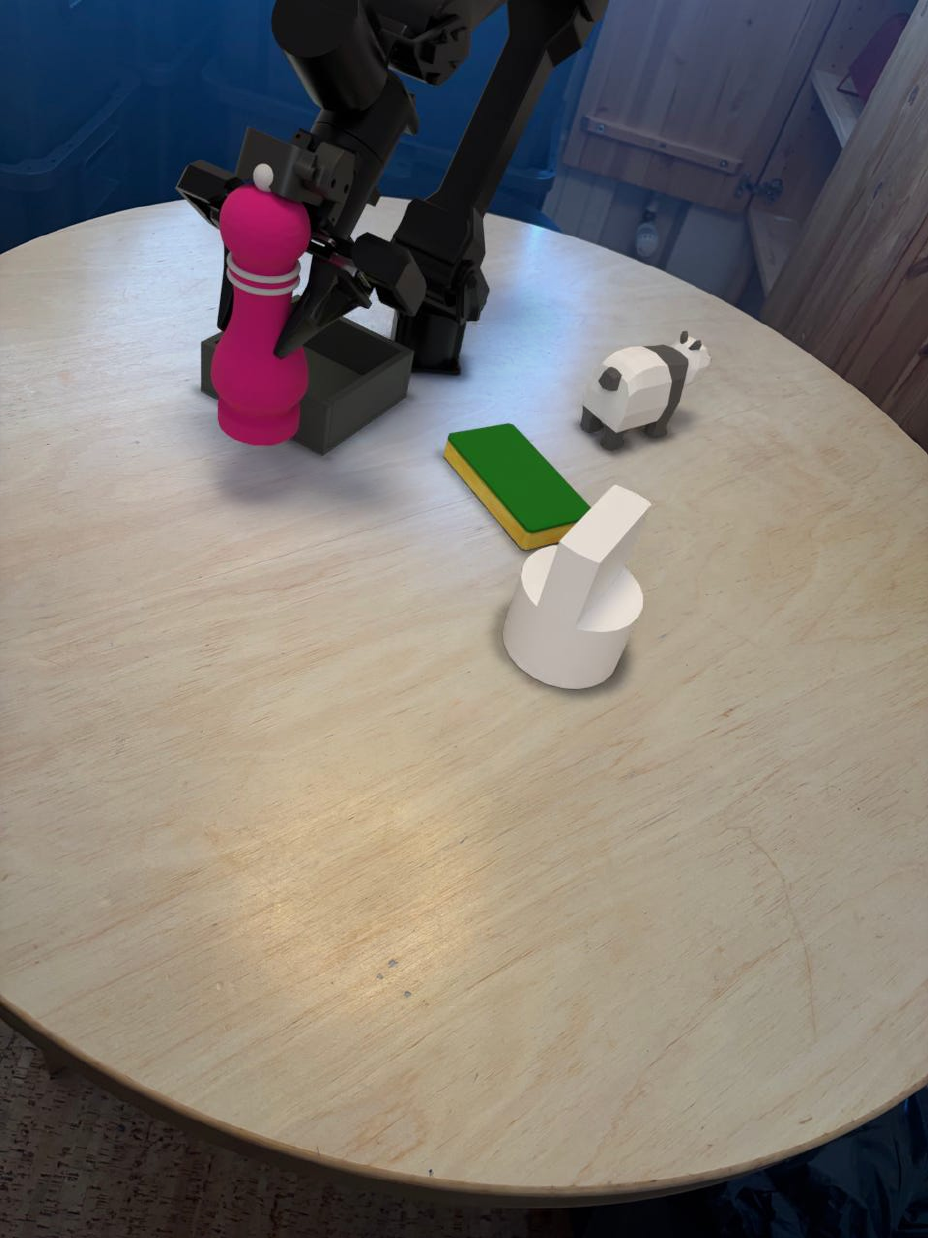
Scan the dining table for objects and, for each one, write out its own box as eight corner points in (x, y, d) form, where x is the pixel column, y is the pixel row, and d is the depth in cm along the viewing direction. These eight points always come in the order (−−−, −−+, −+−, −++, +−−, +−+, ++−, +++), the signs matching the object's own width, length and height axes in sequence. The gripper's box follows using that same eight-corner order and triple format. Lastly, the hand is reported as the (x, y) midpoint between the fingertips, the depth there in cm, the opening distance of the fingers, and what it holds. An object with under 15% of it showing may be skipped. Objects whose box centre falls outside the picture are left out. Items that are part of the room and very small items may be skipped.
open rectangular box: (294, 340, 95) (297, 293, 92) (406, 396, 92) (414, 350, 88) (200, 391, 86) (200, 341, 82) (322, 456, 83) (327, 407, 79)
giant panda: (603, 457, 91) (634, 369, 84) (566, 425, 94) (594, 338, 87) (703, 426, 99) (739, 343, 92) (667, 397, 101) (699, 315, 95)
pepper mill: (288, 460, 72) (304, 199, 58) (196, 435, 72) (191, 168, 58) (316, 410, 77) (338, 159, 63) (231, 387, 77) (233, 130, 63)
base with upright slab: (586, 709, 68) (639, 587, 59) (480, 646, 70) (517, 521, 62) (636, 640, 74) (691, 522, 65) (537, 585, 76) (578, 463, 68)
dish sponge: (506, 442, 90) (512, 421, 88) (589, 535, 82) (598, 513, 80) (441, 454, 86) (446, 432, 84) (522, 552, 79) (529, 529, 77)
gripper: (190, 31, 62) (82, 243, 63) (432, 128, 58) (315, 354, 59) (260, 130, 73) (168, 311, 74) (468, 218, 69) (370, 408, 70)
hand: (248, 343), depth 69 cm, fingers closed on pepper mill, 5 cm apart
